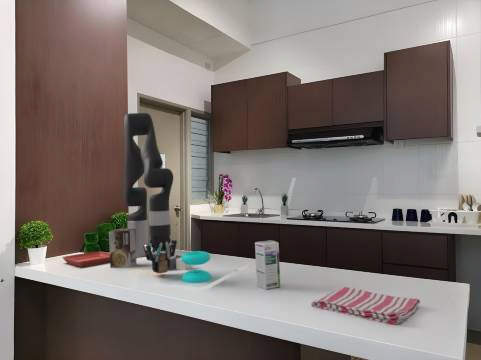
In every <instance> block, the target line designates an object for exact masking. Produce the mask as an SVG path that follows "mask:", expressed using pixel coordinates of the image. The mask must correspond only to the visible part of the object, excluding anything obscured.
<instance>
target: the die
mask: <svg viewBox="0 0 481 360" xmlns="http://www.w3.org/2000/svg"><path fill="white" fill-rule="evenodd" d="M191 268H192V265H188V264H185V263H184V262H183V261H182V260H181V258H178V259H176V269H175V270H178V271H186V270H189V269H191Z"/></svg>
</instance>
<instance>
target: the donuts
mask: <svg viewBox="0 0 481 360" xmlns="http://www.w3.org/2000/svg"><path fill="white" fill-rule="evenodd" d="M181 256H182V257H181V260H182V261H183V262H184V263H185V264H188V265H191V266H200V265H204V264H206V263H208V262H209V261H210V260H211V255H210V253H209V252H207V251H203V250H202V251H201V250H197V251H196V250H195V251H193V250H192V251H187V252H185V253H183V254H182V255H181ZM211 279H212V275H211V273H210V272H209V271H206V270H203V269H191V270H188V271H185V272H184V273H183V275H182V277H181V281H182V282H184V283H189V284H197V283H198V284H199V283H206V282H208V281H210V280H211Z"/></svg>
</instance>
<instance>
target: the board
mask: <svg viewBox="0 0 481 360" xmlns="http://www.w3.org/2000/svg"><path fill="white" fill-rule="evenodd" d="M181 257H182V255H180V254H179V255H178V254H176V258H171V259H170V267H169V269H168V271H171V270H176V259H178V258H181ZM129 272H130V273H131V272H132V273H137V274H140V275H145V276H149V277H150V276H151V277H154V278H159V279H161V278H166V277H169V276H171V275H170V274H165V273H155V272H153V270H145V269H141V268H135V269H132V270H129Z"/></svg>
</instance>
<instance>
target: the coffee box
mask: <svg viewBox="0 0 481 360" xmlns="http://www.w3.org/2000/svg"><path fill="white" fill-rule="evenodd" d="M108 239H109V240H108V242H109V244H108V245H109V253H110V262H109V263H110V267H109V268H110V269H117V268H118V269H120V268H121V269H124V268H126V269H128V268H129V269H131V268H133V267H135V266H137V264H138V263H137V257H136V235H135V229H128V228H115V229H112V230H109V231H108Z"/></svg>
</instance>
